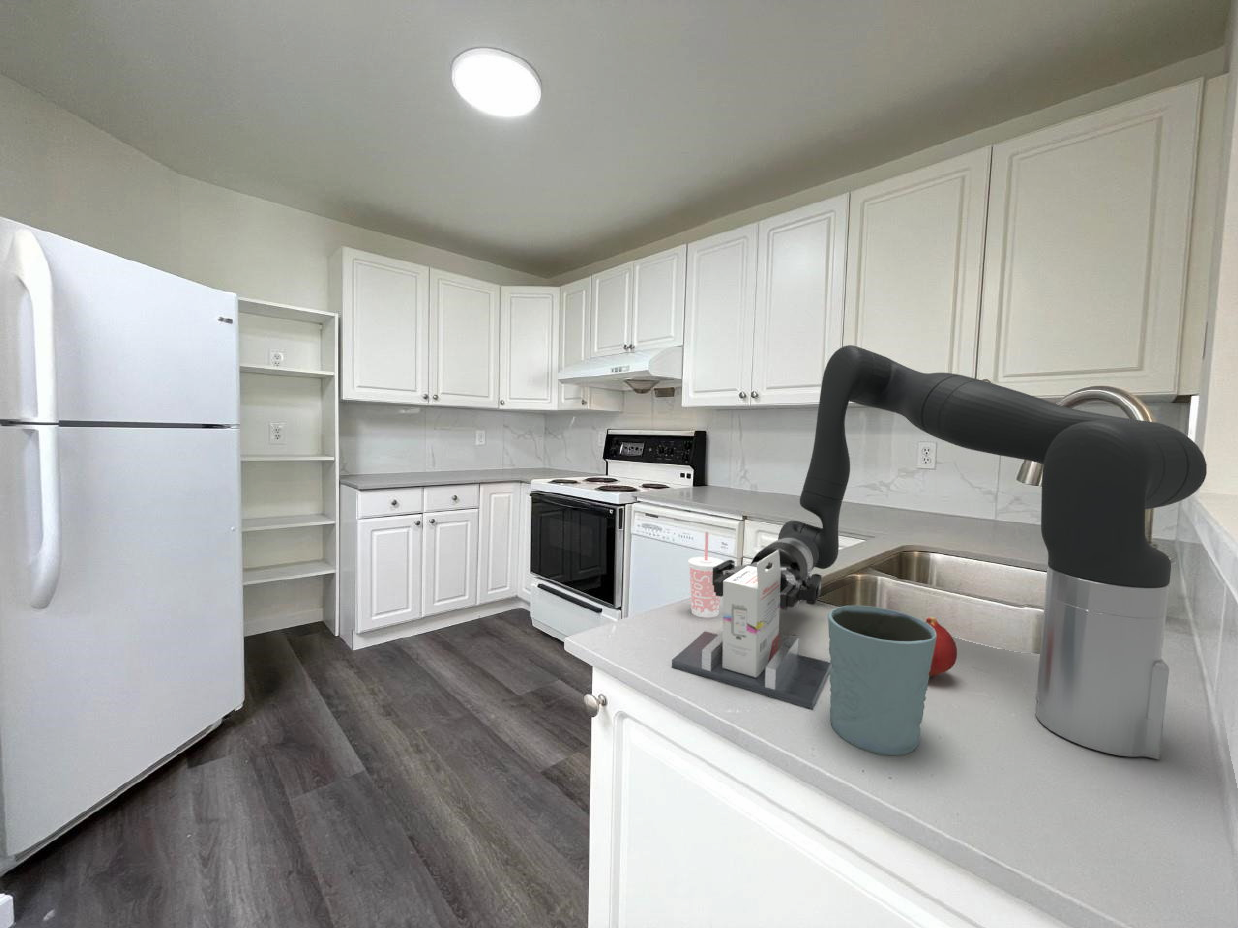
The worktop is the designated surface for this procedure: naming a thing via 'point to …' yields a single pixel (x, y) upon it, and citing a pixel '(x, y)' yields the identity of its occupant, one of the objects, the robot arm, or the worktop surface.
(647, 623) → the worktop surface
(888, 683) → the teal ceramic vase
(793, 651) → the rail channel
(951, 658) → the onion
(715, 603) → the beverage cup
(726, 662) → the ink cartridge box
